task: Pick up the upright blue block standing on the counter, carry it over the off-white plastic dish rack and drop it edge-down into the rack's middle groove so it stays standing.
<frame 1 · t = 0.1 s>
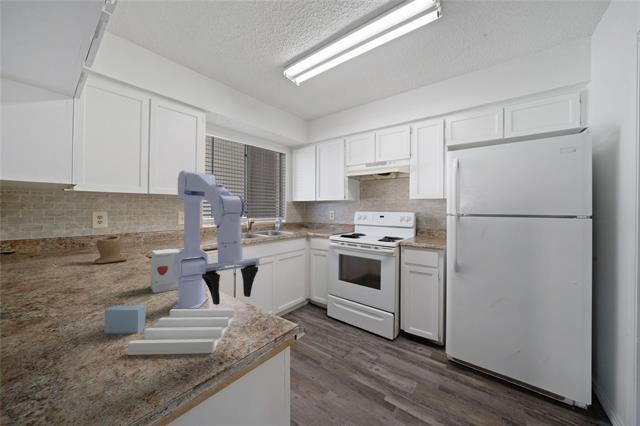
hand: (232, 300, 58), 11 cm above the counter, tool pointing down, fingers open, 7 cm apart
blue block: (125, 330, 63), on the counter
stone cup: (112, 262, 138), on the counter
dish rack: (189, 332, 63), on the counter
supplement box: (165, 288, 96), on the counter
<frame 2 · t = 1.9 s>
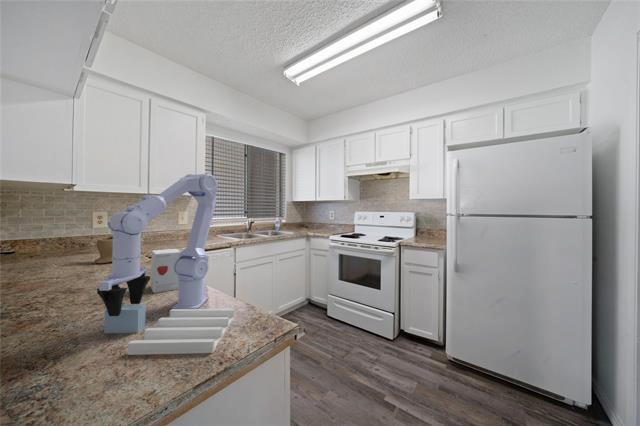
hand: (125, 309, 63), 5 cm above the counter, tool pointing down, fingers open, 7 cm apart
nothing on the counter moved.
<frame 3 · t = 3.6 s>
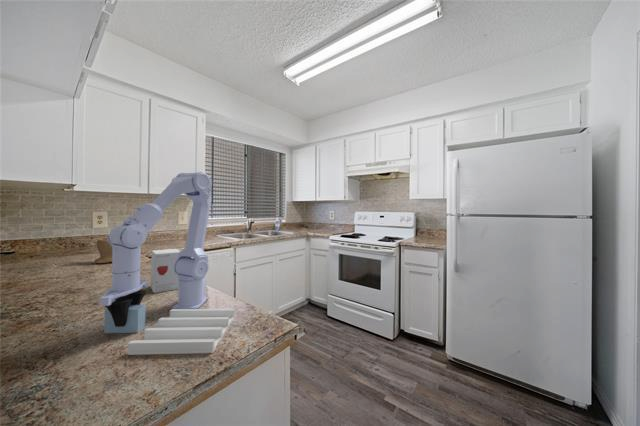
hand: (125, 322, 63), 2 cm above the counter, tool pointing down, fingers closed on blue block, 3 cm apart
blue block: (125, 330, 63), on the counter, touching gripper
everything else where it was.
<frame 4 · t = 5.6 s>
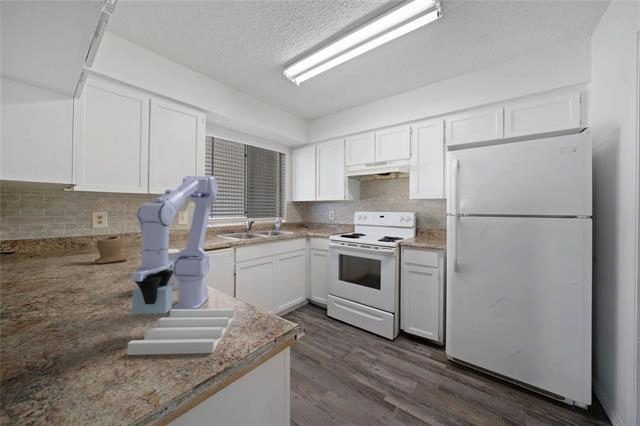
hand: (154, 301, 63), 8 cm above the counter, tool pointing down, fingers closed on blue block, 3 cm apart
blue block: (152, 310, 63), point 5 cm above the counter, touching gripper
everything else where it was.
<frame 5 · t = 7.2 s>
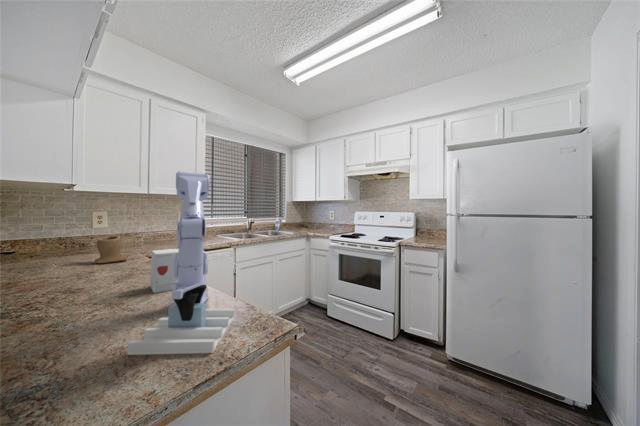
hand: (189, 317, 63), 4 cm above the counter, tool pointing down, fingers closed on blue block, 3 cm apart
blue block: (187, 328, 63), point 1 cm above the counter, touching gripper
everything else where it was.
when the fingers open (4 cm above the counter, at t = 8.1 s): blue block stays where it is, resting on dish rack.
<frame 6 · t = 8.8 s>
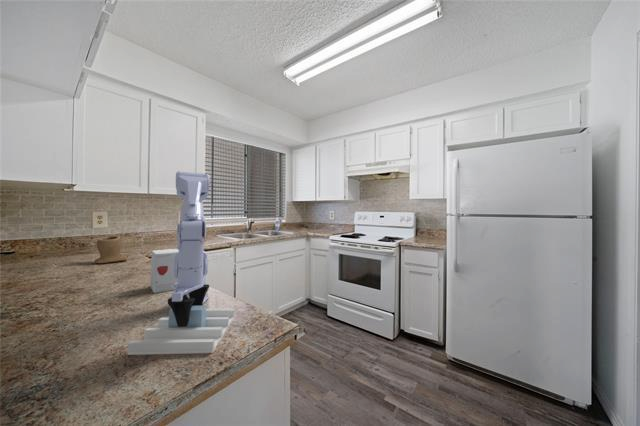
hand: (189, 319, 63), 4 cm above the counter, tool pointing down, fingers open, 7 cm apart
blue block: (187, 331, 63), resting on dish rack
everything else where it was.
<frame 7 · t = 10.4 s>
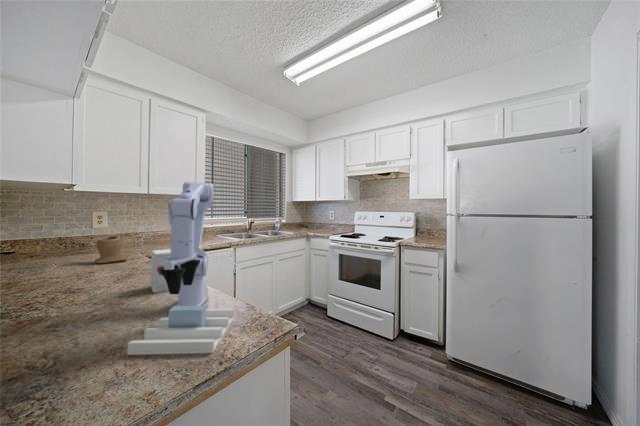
hand: (181, 289, 68), 9 cm above the counter, tool pointing down, fingers open, 7 cm apart
nothing on the counter moved.
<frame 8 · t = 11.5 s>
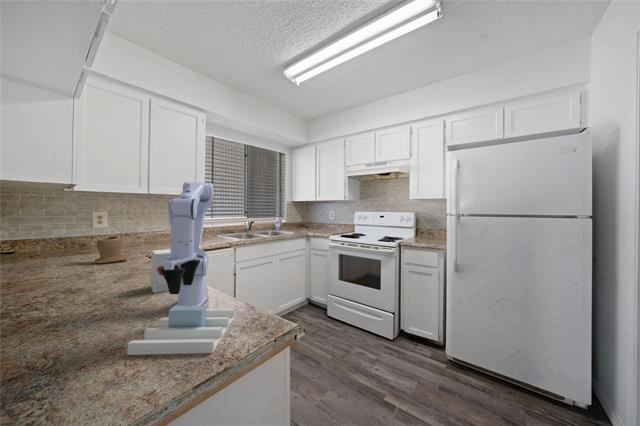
hand: (181, 289, 68), 9 cm above the counter, tool pointing down, fingers open, 7 cm apart
nothing on the counter moved.
at the end: blue block inside the target area on the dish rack (0.5 cm from its centre), point 0.5 cm above the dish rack's base; blue block tilted 0°; the gripper is holding nothing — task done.
